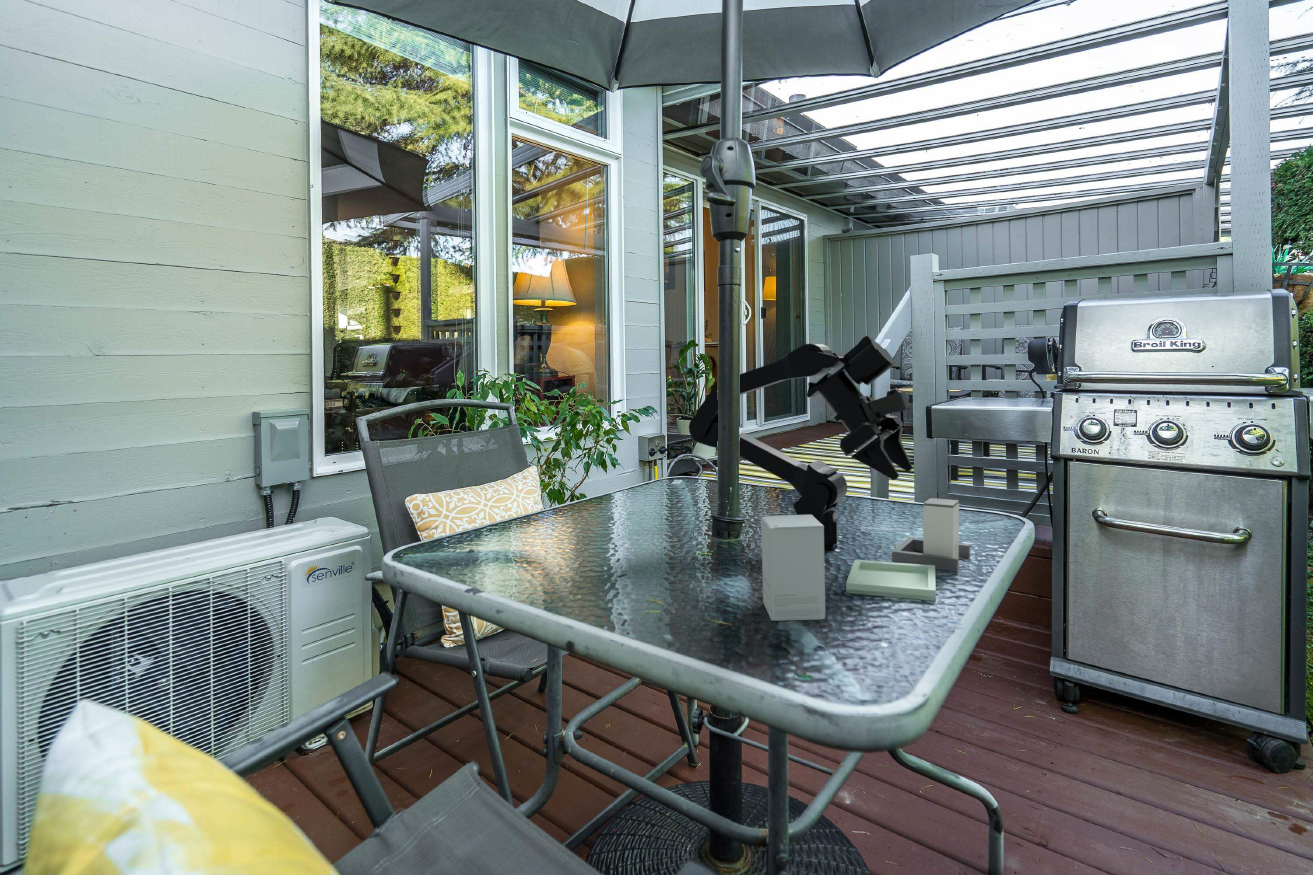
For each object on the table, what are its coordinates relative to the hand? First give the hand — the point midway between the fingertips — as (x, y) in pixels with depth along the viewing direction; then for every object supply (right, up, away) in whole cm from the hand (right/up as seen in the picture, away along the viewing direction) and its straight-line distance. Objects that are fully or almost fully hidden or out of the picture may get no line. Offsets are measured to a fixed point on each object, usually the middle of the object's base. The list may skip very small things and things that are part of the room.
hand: (903, 474), depth 112 cm
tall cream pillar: (+5, -14, -3) cm, 15 cm away
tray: (-7, -16, -13) cm, 21 cm away
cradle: (+4, -14, -2) cm, 15 cm away
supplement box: (-23, -18, -22) cm, 37 cm away
